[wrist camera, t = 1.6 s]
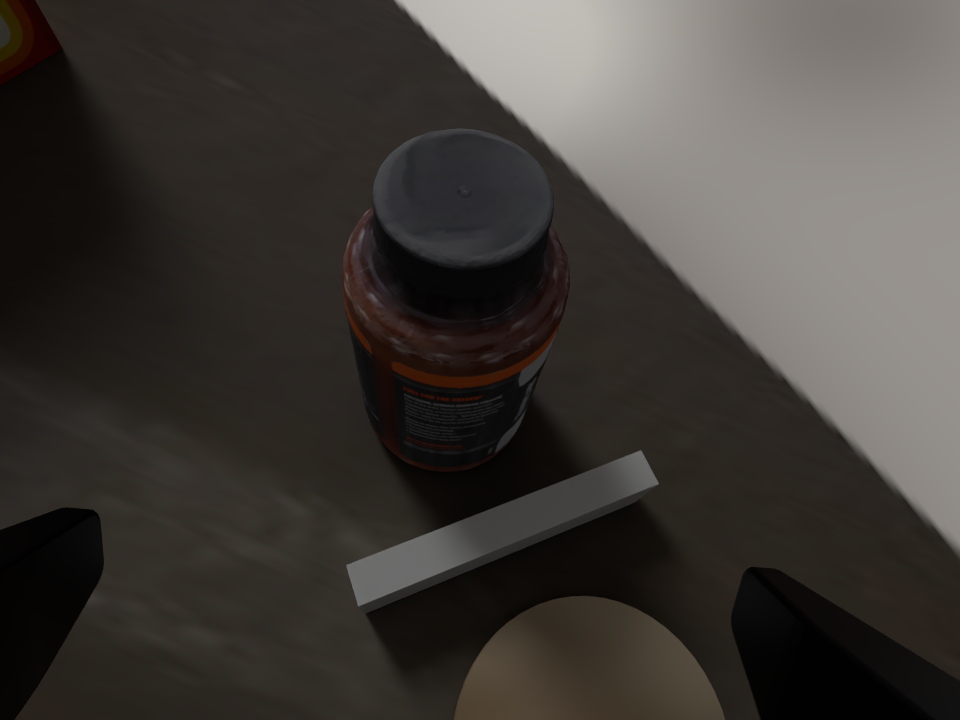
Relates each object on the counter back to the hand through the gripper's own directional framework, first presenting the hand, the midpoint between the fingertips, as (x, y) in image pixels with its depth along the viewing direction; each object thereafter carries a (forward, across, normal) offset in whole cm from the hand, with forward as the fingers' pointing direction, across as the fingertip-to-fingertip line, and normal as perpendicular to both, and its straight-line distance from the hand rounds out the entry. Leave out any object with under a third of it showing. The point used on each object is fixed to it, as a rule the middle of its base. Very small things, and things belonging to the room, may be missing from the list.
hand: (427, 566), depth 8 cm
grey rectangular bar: (+11, -2, +7) cm, 13 cm away
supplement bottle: (+14, 0, +3) cm, 15 cm away
